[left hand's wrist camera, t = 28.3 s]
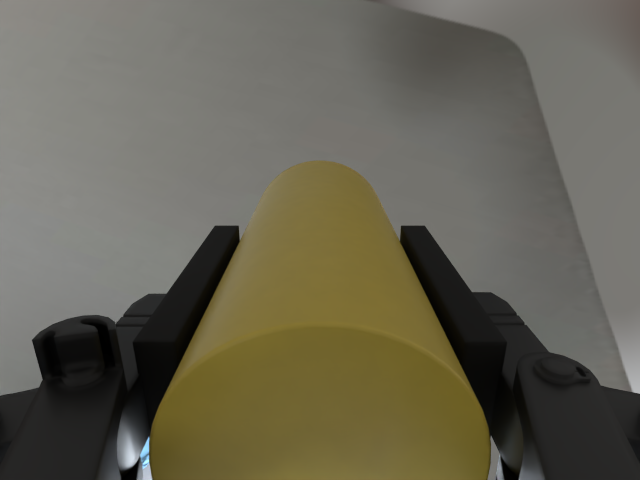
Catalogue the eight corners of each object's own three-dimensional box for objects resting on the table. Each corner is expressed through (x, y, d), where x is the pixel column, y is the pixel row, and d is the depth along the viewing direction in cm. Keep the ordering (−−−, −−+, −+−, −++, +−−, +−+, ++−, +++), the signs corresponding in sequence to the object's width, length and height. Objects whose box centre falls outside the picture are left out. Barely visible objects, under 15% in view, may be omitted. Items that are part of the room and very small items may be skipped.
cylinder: (408, 207, 18) (567, 438, 6) (334, 301, 19) (357, 622, 8) (302, 133, 17) (265, 251, 5) (233, 238, 18) (89, 504, 7)
